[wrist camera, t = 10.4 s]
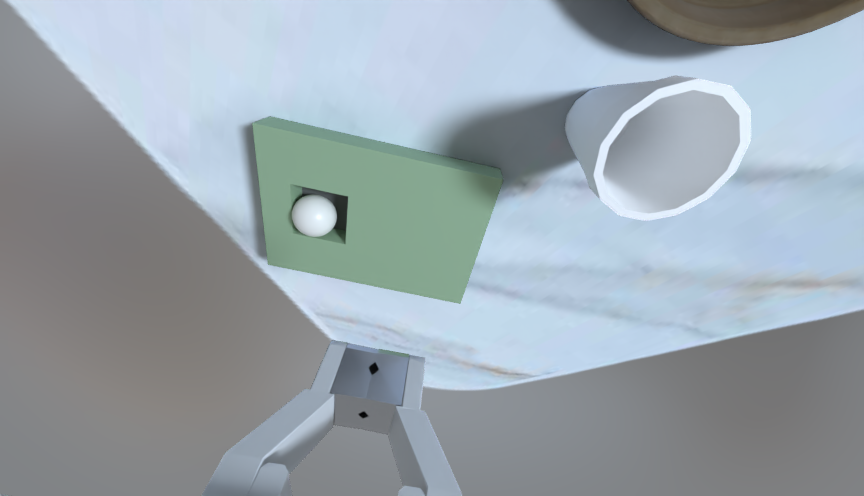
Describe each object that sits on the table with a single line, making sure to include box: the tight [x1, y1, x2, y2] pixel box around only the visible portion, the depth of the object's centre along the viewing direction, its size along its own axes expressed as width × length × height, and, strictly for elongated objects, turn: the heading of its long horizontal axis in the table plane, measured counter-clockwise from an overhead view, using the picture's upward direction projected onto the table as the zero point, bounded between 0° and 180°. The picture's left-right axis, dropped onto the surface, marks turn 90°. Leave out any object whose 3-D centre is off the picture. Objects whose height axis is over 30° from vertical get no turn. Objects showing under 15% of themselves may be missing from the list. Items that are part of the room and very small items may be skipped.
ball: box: [292, 195, 337, 237], centre depth 37 cm, size 5×5×5 cm
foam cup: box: [565, 76, 751, 221], centre depth 26 cm, size 10×9×13 cm
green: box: [252, 117, 503, 304], centre depth 38 cm, size 18×26×4 cm
